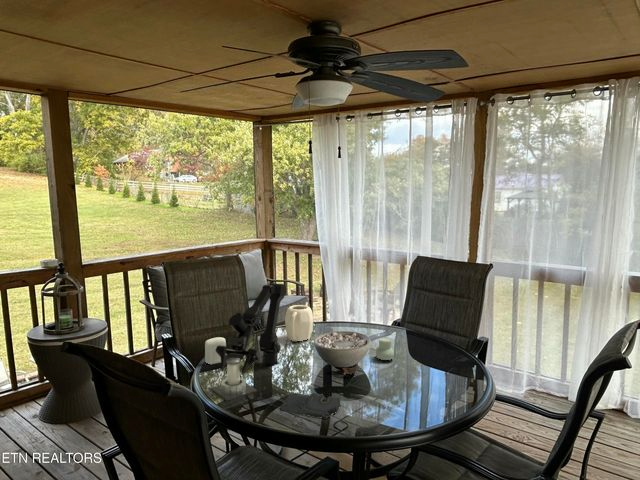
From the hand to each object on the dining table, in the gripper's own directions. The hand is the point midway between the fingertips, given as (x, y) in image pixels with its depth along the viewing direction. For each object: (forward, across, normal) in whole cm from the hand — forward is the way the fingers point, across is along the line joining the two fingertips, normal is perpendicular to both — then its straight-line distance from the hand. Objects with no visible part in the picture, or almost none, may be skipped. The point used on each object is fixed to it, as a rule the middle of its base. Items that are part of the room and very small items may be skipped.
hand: (232, 371), depth 183 cm
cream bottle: (+5, 0, +7) cm, 8 cm away
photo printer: (-14, -23, +26) cm, 37 cm away
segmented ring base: (+5, 0, +7) cm, 9 cm away
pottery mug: (-17, +41, +30) cm, 53 cm away
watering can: (-47, +6, +60) cm, 76 cm away
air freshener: (-33, +56, +46) cm, 80 cm away
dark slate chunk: (+9, +35, +4) cm, 37 cm away
